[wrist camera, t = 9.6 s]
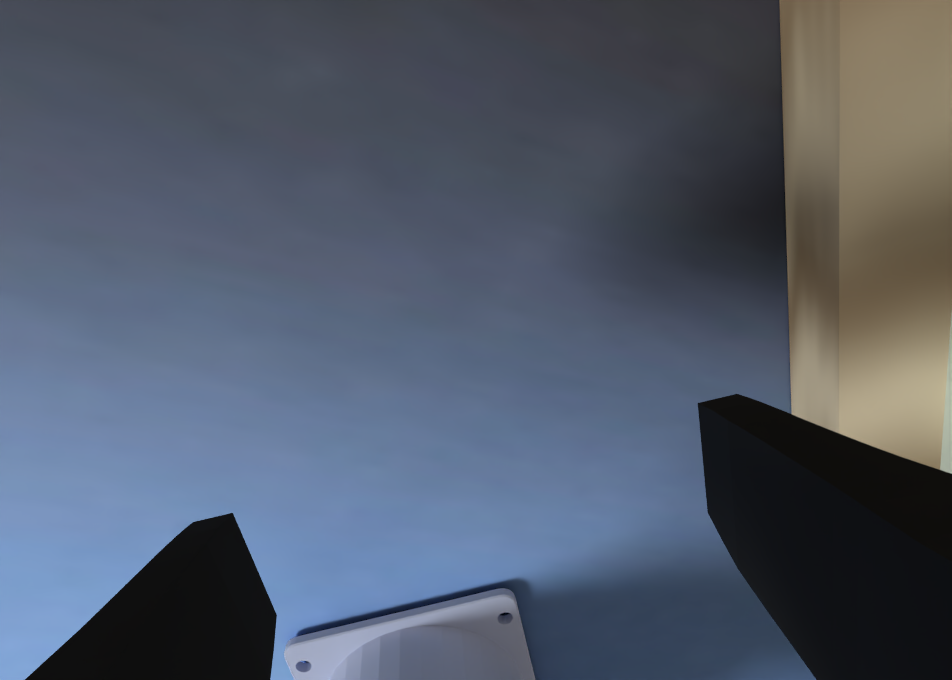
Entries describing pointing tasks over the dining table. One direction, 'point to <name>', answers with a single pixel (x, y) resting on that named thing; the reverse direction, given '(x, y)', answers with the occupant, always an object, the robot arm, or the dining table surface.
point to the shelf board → (869, 217)
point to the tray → (948, 416)
